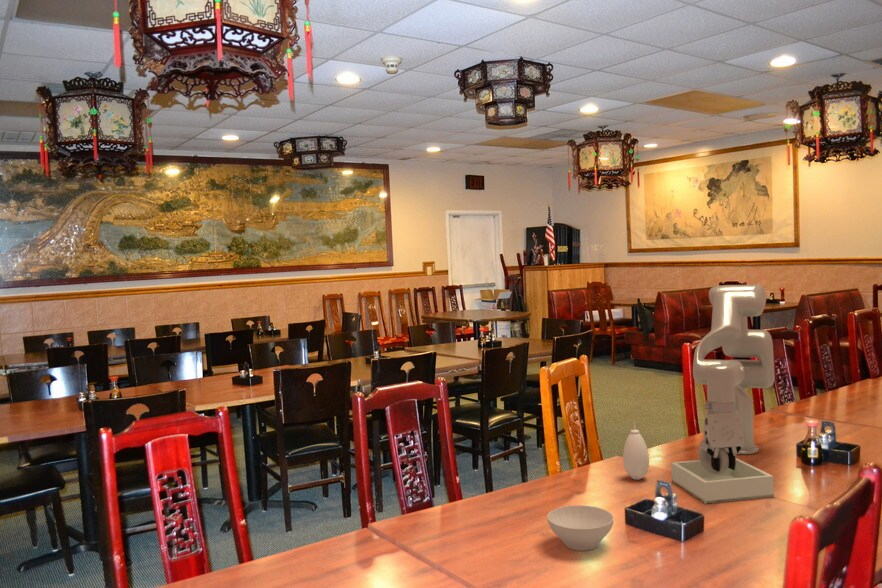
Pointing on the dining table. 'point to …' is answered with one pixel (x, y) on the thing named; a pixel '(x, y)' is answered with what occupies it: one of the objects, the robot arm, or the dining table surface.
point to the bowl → (580, 525)
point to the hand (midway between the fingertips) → (723, 468)
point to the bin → (723, 482)
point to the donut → (706, 460)
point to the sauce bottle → (635, 455)
